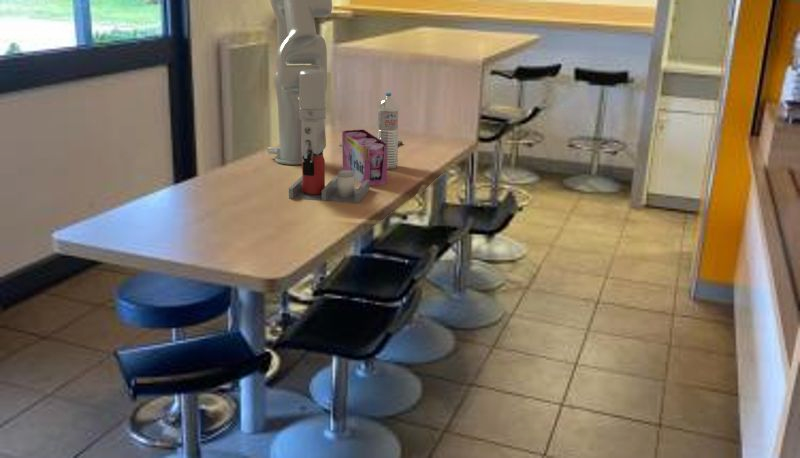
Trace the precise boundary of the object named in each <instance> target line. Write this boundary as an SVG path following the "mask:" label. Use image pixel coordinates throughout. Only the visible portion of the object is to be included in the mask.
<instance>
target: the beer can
mask: <svg viewBox="0 0 800 458" xmlns="http://www.w3.org/2000/svg"><path fill="white" fill-rule="evenodd" d="M308 152H312V151H308ZM309 156H310V158H311V155H309ZM325 160H326V159H325V157H324V152H323V153H322V152H321V153H319V154H318V155H316V154H314V158H313V162H314V175H313V176H308V175H303V159H302V164H301V170H302V171H301V173H302V174H301V177H302V185H303V192H304V193H305V194H308V195H319V194H322V190H323V189H324V188H325V187H326V181H325V180H326V170H325V169H326V168H325V166H326V165H325V164H326V163H325Z"/></svg>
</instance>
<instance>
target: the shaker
mask: <svg viewBox="0 0 800 458" xmlns="http://www.w3.org/2000/svg"><path fill="white" fill-rule="evenodd" d="M336 178H337V179H338V196H339V197H345V198H347V197H353V196H354V195H355V189H356V188H355V186H356V185H355V182H356V181H355V180H356V179H355V175H354V171H351V170H343V169H342V170H338V172H337V177H336Z"/></svg>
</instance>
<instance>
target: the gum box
mask: <svg viewBox="0 0 800 458" xmlns="http://www.w3.org/2000/svg"><path fill="white" fill-rule="evenodd" d="M376 137H377V136H375V135H374V134H372V133H370V132H368V131H367V130H365V129H352V130H342V135H341V138H342V140H341V142H342V148H341V149H342V150H341V151H342V170H351V171H354V175H355V180H356V181H358V182H359V184H361V185H362V184H363V182H364V181H365V180H369V186H377V185H378V186H379V185H387V183H388V171H387V170H388V169H387V144H386V143H385V142H383V141H381V140H380V139H378V138H376Z"/></svg>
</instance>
